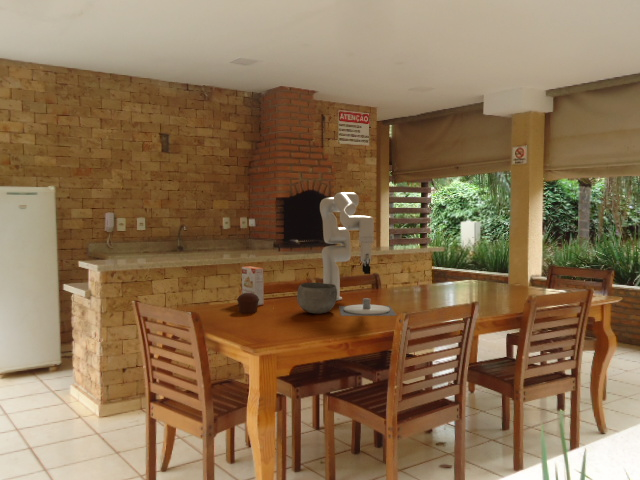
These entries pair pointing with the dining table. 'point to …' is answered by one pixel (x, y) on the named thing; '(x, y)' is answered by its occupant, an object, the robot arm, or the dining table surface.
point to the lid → (366, 308)
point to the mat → (366, 315)
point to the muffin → (248, 303)
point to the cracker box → (253, 282)
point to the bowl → (317, 297)
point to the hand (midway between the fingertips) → (366, 272)
